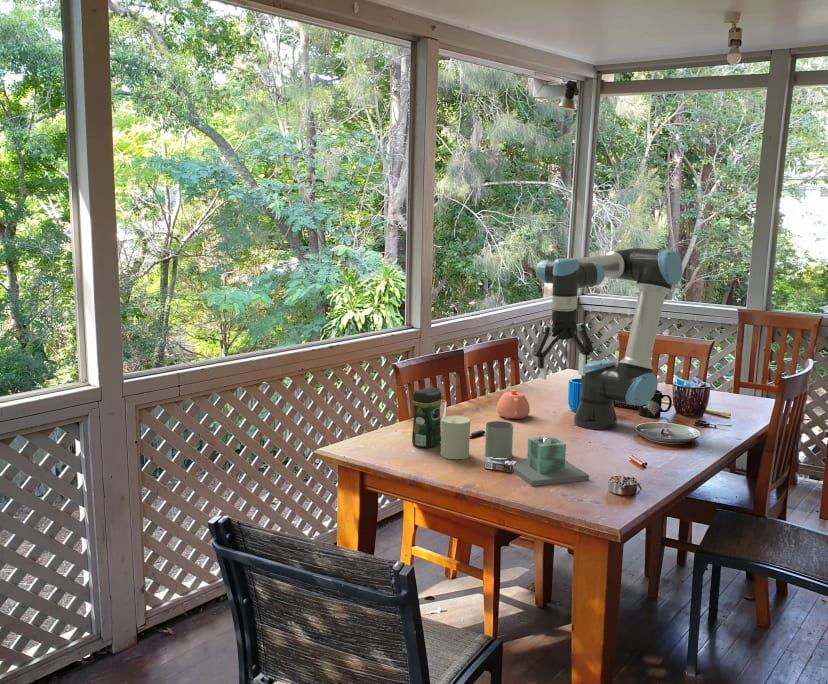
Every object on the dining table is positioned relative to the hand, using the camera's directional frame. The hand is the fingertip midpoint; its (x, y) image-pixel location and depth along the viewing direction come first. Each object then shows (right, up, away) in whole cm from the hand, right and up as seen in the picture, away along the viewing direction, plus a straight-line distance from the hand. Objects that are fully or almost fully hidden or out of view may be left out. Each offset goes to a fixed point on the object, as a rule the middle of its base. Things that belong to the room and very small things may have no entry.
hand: (562, 376), depth 239 cm
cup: (-20, -25, 0) cm, 32 cm away
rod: (-8, -26, -15) cm, 31 cm away
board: (-8, -27, -15) cm, 32 cm away
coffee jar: (-42, -23, +10) cm, 49 cm away
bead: (-8, -26, -15) cm, 31 cm away
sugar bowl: (-10, -17, +45) cm, 49 cm away
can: (-34, -25, 0) cm, 42 cm away
